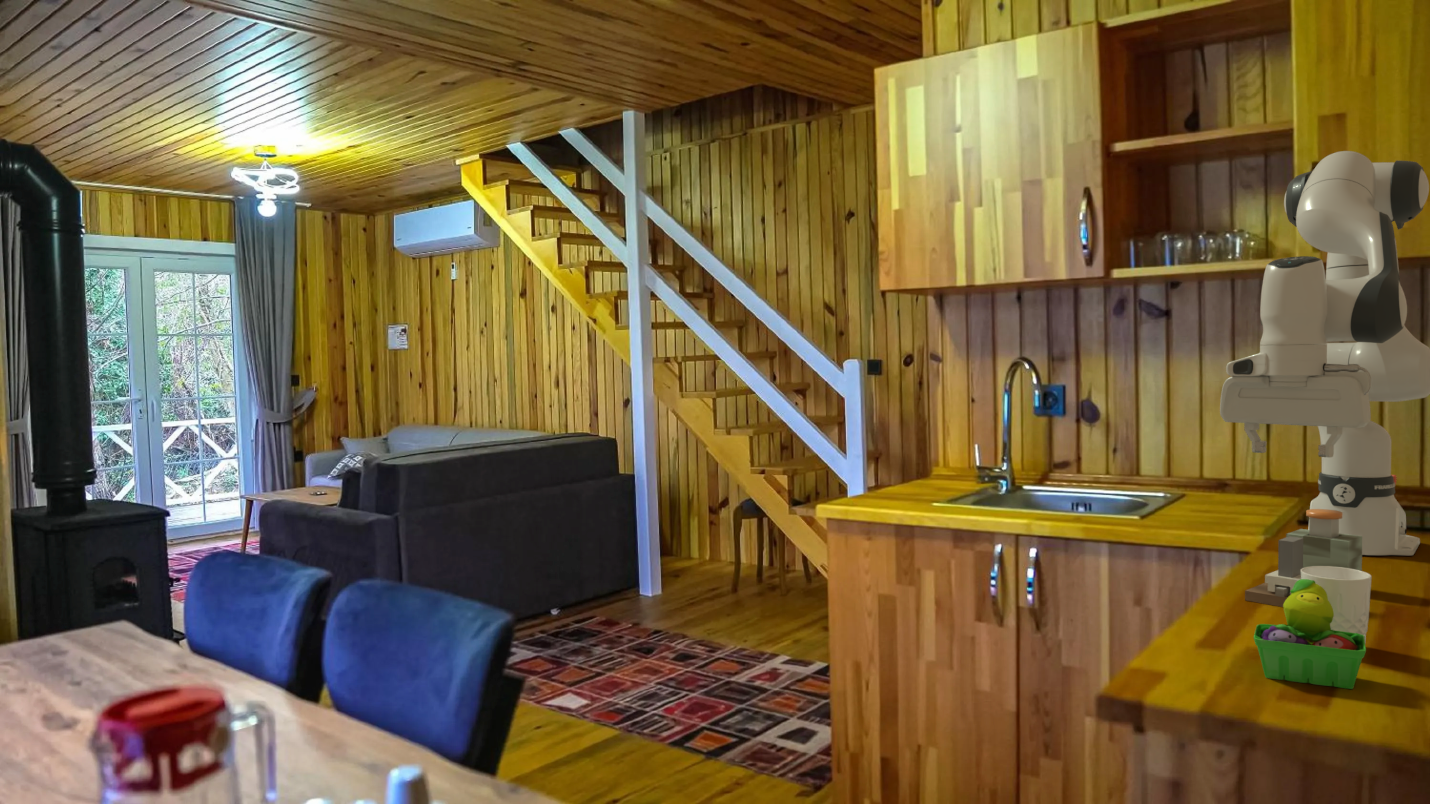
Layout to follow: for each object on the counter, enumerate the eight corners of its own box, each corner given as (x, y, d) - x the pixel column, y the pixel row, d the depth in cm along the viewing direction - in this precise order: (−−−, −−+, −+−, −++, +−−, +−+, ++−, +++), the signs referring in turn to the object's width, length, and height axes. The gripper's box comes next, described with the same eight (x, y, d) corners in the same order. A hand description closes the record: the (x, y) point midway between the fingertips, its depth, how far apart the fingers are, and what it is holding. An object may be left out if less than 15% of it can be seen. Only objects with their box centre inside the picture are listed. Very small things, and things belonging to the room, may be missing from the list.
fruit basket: (1252, 679, 120) (1253, 587, 119) (1257, 659, 128) (1258, 571, 127) (1365, 695, 114) (1367, 598, 113) (1363, 672, 122) (1365, 581, 121)
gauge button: (1313, 532, 165) (1313, 508, 165) (1347, 536, 161) (1347, 511, 161) (1300, 536, 162) (1301, 511, 162) (1335, 540, 158) (1335, 515, 158)
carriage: (1281, 583, 158) (1281, 534, 157) (1315, 589, 154) (1316, 538, 153) (1264, 590, 154) (1265, 539, 153) (1300, 596, 150) (1300, 544, 149)
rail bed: (1297, 578, 168) (1297, 528, 167) (1365, 589, 160) (1365, 536, 160) (1245, 600, 155) (1245, 546, 155) (1315, 612, 148) (1316, 555, 147)
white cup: (1381, 658, 127) (1382, 580, 126) (1313, 656, 128) (1313, 579, 128) (1354, 640, 134) (1356, 566, 134) (1290, 638, 136) (1291, 565, 135)
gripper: (1378, 363, 146) (1377, 457, 146) (1233, 363, 162) (1232, 448, 162) (1362, 364, 142) (1361, 461, 142) (1215, 364, 158) (1215, 451, 158)
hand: (1291, 454), depth 153 cm, fingers open, 8 cm apart
